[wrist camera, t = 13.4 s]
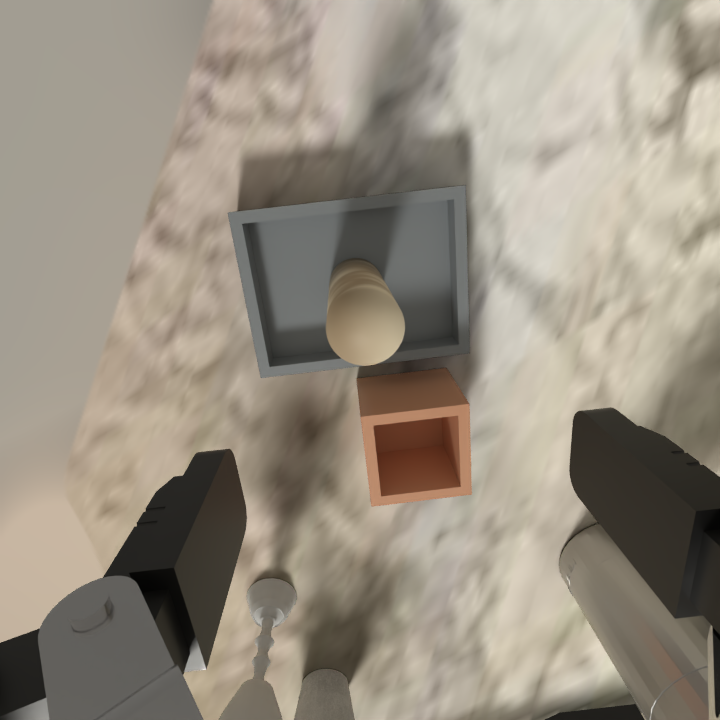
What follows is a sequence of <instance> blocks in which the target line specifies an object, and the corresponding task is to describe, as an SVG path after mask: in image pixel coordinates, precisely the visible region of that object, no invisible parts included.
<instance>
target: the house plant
mask: <svg viewBox="0 0 720 720" xmlns="http://www.w3.org/2000/svg"><path fill="white" fill-rule="evenodd" d="M294 720H355V719H354V714H353V708H352V702H351V697H350V691H349V686H348V680H347V678H346V677H345V676H344V675H343V674H342V673H341V672H339V671H337V670H333V669H319V670H316V671H313V672H311V673H309V674H308V675H307V676H306V677H305V678H304V680H303V683H302V687H301V691H300V696H299V700H298V705H297V709H296V714H295V718H294Z"/></svg>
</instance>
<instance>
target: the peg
mask: <svg viewBox="0 0 720 720" xmlns="http://www.w3.org/2000/svg"><path fill="white" fill-rule="evenodd" d="M404 332H405V321H404V317H403V314H402V311H401V309H400V307H399V306H398V304H397V302H396V301H395V299H394V297H393V295H392V294H391V292H390V290H389V288H388V287H387V285H386V283H385V281H384V280H383V278H382V276H381V274H380V273H379V271H378V269H377V268H376V267H375V266H374V265H373V264H372V263H371V262H369V261H367V260H364V259H361V258H351V259H347V260H345V261H343V262H341V263H340V264H339V265H337V266H336V268H335V269H334V270H333V272H332V274H331V277H330V282H329V295H328V308H327V321H326V334H327V339H328V341H329V344H330V346H331V348H332V349H333V350H334V352H335V353H336V354H337V355H338V356H339V357H341V358H342V359H343V360H345V361H347V362H349V363H352V364H355V365H362V366H367V365H374V364H378V363H380V362H383V361H385V360H386V359H388V358H389V357H390V356H392V355H393V354H394V353H395V352H396V350H397V349H398V348H399V346H400V344H401V342H402V340H403V337H404Z"/></svg>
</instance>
